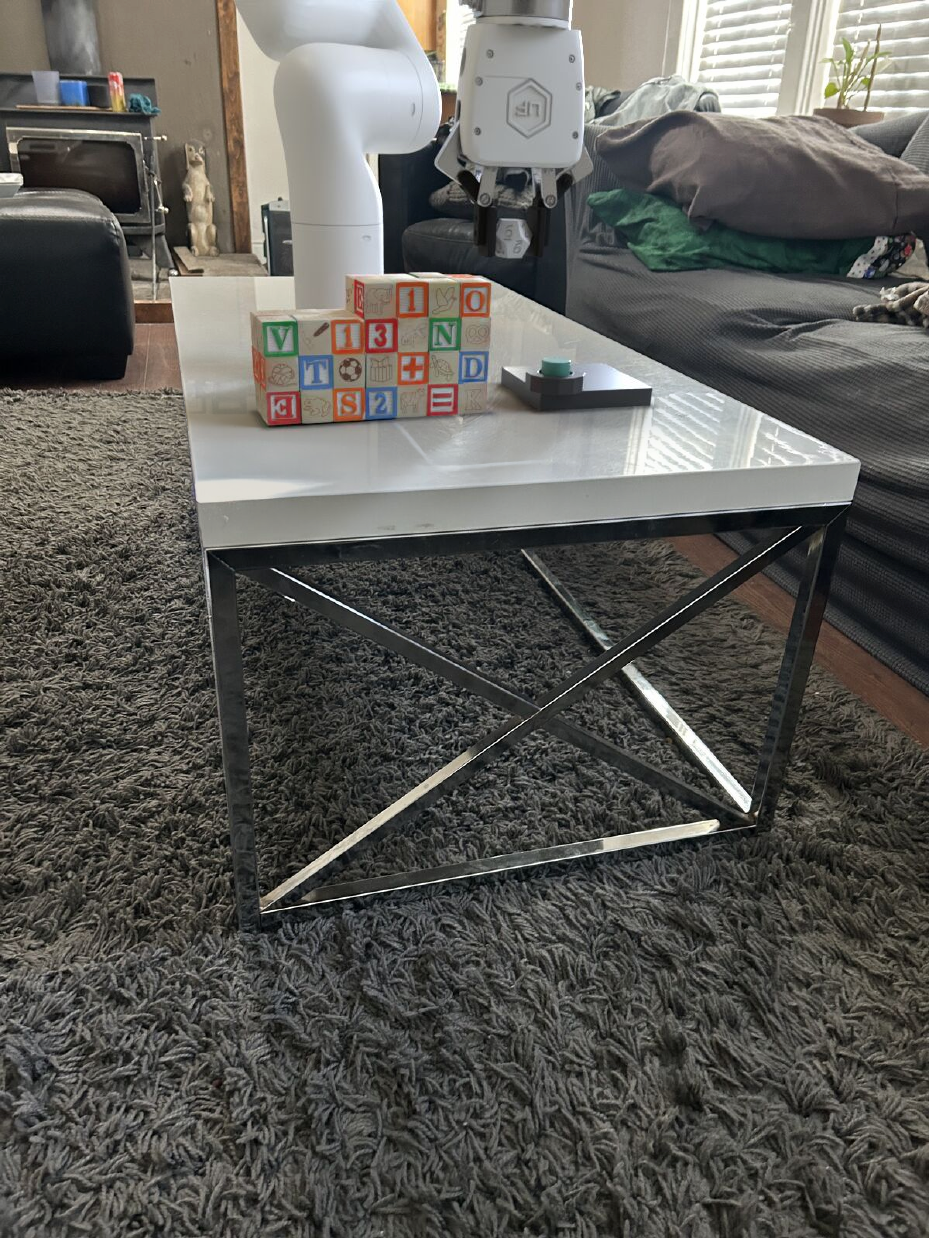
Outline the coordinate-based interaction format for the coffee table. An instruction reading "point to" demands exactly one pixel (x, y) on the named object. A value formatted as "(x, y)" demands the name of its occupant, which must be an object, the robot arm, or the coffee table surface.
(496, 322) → the coffee table surface
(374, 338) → the stack of blocks
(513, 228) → the game die
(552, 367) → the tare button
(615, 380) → the dark grey flat block
